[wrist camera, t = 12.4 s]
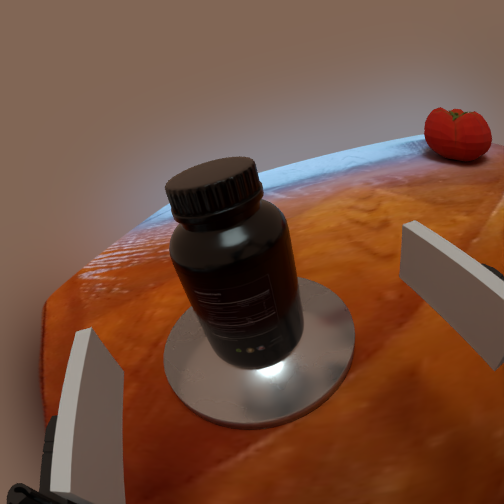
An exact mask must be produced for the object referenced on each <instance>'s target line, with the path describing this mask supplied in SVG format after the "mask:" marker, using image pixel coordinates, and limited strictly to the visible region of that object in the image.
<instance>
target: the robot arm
mask: <svg viewBox="0 0 504 504" xmlns="http://www.w3.org/2000/svg"><path fill="white" fill-rule="evenodd" d="M399 277H400V278H401V279H402V280H403V281H404V282H405V283H407V284H408V285H409V286H410V287H411V288H412V289H413V290H414V291H415V292H416V293H417V294H419V295H420V296H421V297H422V298H423V299H424V300H425V301H426V302H427V303H428V304H429V305H430V306H431V307H432V308H433V309H434V310H435V311H436V312H438V313H439V314H440V315H441V316H442V317H443V318H444V319H445V320H446V321H447V322H448V323H449V324H450V325H451V326H452V327H453V328H454V329H455V330H456V331H457V332H458V333H459V334H460V335H461V336H462V337H463V338H464V339H465V340H466V341H467V342H468V343H469V344H470V345H471V347H472V348H473V349H474V350H475V351H476V352H477V353H478V354H479V355H480V356H481V357H482V358H483V359H484V360H485V361H486V362H487V364H488V365H489V366H490V367H491V368H492V369H493V370H494V371H495V370H496V369H497V368H499V367H500V366H501V365H502V364H503V363H504V276H503V274H501V273H500V272H499V271H497V270H496V269H495V268H493V267H490V266H488V265H485V264H483V263H482V264H480V263H479V262H477V261H476V260H474V259H473V258H472V257H470V256H469V255H467V254H466V253H465V252H463V251H462V250H460V249H459V248H457V247H456V246H454V245H453V244H451V243H450V242H448V241H447V240H445V239H444V238H442V237H441V236H439V235H438V234H436V233H435V232H433V231H432V230H430V229H428V228H427V227H425V226H424V225H422V224H421V223H419V222H417V221H416V220H414V221H412V222H409V223H406V224H404V225H403V226H402V247H401V262H400V274H399ZM123 382H124V371H123V370H122V368H121V367H120V366H119V365H118V363H117V362H116V361H115V359H114V358H113V357H112V355H111V354H110V353H109V351H108V350H107V349H106V347H105V346H104V344H103V343H102V342H101V340H100V339H99V337H98V336H97V335H96V333H95V332H94V330H93V329H92V327H91V328H88V329H84V330H81V331H77V332H76V335H75V339H74V342H73V346H72V350H71V354H70V358H69V362H68V366H67V371H66V375H65V380H64V385H63V390H62V395H61V400H60V406H59V411H58V415H57V416H52V417H51V419H50V421H49V423H48V426H47V428H46V433H45V440H44V441H45V444H44V448H43V452H44V454H43V455H42V464H41V476H40V489H39V492H37V491H35V490H33V489H32V488H30V487H28V486H26V485H24V484H22V483H17V484H15V485H13V486H12V487H11V489H10V490H9V492H8V495H7V504H126V503H125V491H124V476H123V450H122V409H123Z"/></svg>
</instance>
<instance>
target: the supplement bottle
mask: <svg viewBox="0 0 504 504" xmlns="http://www.w3.org/2000/svg"><path fill="white" fill-rule="evenodd" d="M165 190H166V194H167V197H168V200H169V202H170V205H171V212H172V215H173V217H174V220H175V221H176V222H178V223H179V225H178V226H177V227H176V229H175V230H174V232H173V234H172V237H171V240H170V247H169V251H170V257H171V260H172V262H173V265H174V267H175V270H176V272H177V274H178V277H179V279H180V281H181V284H182V286H183V288H184V290H185V292H186V295H187V297H188V299H189V301H190V303H191V306H192V308H193V310H194V312H195V314H196V316H197V319H198V321H199V323H200V325H201V327H202V329H203V331H204V333H205V335H206V337H207V339H208V341H209V343H210V345H211V347H212V349H213V350H214V352H215V353H216V354H217V356H218V357H220V358H221V359H222V360H223V361H225V362H227V363H228V364H231V365H234V366H237V367H242V368H258V367H264V366H268V365H271V364H273V363H275V362H278V361H279V360H281V359H283V358H284V357H286V356H287V355H288V354H289V353H291V352H292V351H293V350H294V348H295V347H296V346H297V344H298V343H299V341H300V339H301V337H302V334H303V330H304V317H303V309H302V303H301V297H300V291H299V285H298V279H297V273H296V267H295V261H294V255H293V250H292V244H291V238H290V233H289V228H288V224H287V220H286V218H285V216H284V214H283V213H282V212H281V211H280V209H279V208H277V207H276V206H275V205H274V204H272V203H270V202H268V201H266V200H263V199H262V197H263V194H264V192H263V186H262V183H261V182H260V181H259V177H258V172H257V168H256V164H255V162H254V161H253V159H250V158H248V157H229V158H222V159H217V160H213V161H209V162H206V163H202V164H200V165H197V166H194V167H192V168H189V169H187V170H185V171H183V172H181V173H179V174H177V175H176V176H174V177H173V178H172V179H170V180H169V181H168V182H167V183H166V186H165Z"/></svg>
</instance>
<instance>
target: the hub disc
mask: <svg viewBox="0 0 504 504" xmlns="http://www.w3.org/2000/svg"><path fill="white" fill-rule="evenodd" d="M297 279H298V285H299V291H300V297H301V303H302V309H303V317H304V330H303V334H302V337H301V339H300V341H299V343H298V344H297V346H296V347H295V348H294V350H293V351H292V352H291V353H289V354H288V355H287V356H286V357H284V358H283V359H281V360H279V361H278V362H275V363H273V364H271V365H268V366H264V367H258V368H242V367H237V366H234V365H231V364H228V363H227V362H225V361H223V360H222V359H221V358H220V357H218V356H217V354H216V353H215V352H214V350H213V349H212V347H211V345H210V343H209V341H208V339H207V337H206V335H205V333H204V331H203V329H202V327H201V325H200V323H199V321H198V319H197V316H196V314H195V312H194V310H193V308H192V306H191V307H190V308H189V309H188V310H187V311H186V312H185V313H184V314H183V315H182V316H181V317H180V319H179V320H178V321H177V322H176V324H175V326H174V327H173V329H172V330H171V333H170V335H169V337H168V339H167V342H166V345H165V351H164V368H165V373H166V376H167V379H168V381H169V383H170V385H171V387H172V388H173V390H174V391H175V393H176V394H177V395H178V397H179V398H180V399H181V401H182V402H183V403H184V404H185V405H186V406H187V407H188V408H189V409H190V410H191V411H193V412H194V413H195V414H196V415H198V416H200V417H201V418H203V419H205V420H207V421H209V422H212V423H214V424H217V425H220V426H224V427H228V428H234V429H244V430H252V429H265V428H271V427H276V426H280V425H283V424H286V423H289V422H292V421H294V420H297V419H299V418H301V417H303V416H305V415H307V414H309V413H310V412H312V411H313V410H315V409H317V408H318V407H319V406H321V405H322V404H323V403H324V402H325V401H327V400H328V399H329V398H330V397H331V396H332V395H333V394H334V392H335V391H336V390H337V389H338V388H339V386H340V385H341V383H342V382H343V380H344V379H345V377H346V375H347V373H348V371H349V369H350V366H351V363H352V359H353V354H354V342H355V332H354V324H353V320H352V316H351V314H350V312H349V310H348V308H347V307H346V305H345V304H344V302H343V301H342V300H341V299H340V298H339V297H338V296H337V295H336V294H335V293H334V292H332V291H331V290H330V289H328V288H326V287H324V286H323V285H321V284H319V283H316V282H314V281H311V280H308V279H304V278H300V277H297Z"/></svg>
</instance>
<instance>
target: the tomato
mask: <svg viewBox="0 0 504 504" xmlns="http://www.w3.org/2000/svg"><path fill="white" fill-rule="evenodd" d="M465 113H466V114H465ZM424 129H425V132H424V135H425V140H426V142H427V144H428V145H429V147H430V148H431V149H432V150H433V151H435V152H436V153H438V154H440V155H441V156H443V157H445V158H448V159H456V160H460V161H466V162H467V161H472V160H475V159H477V158H478V157H479V156H480V155H483V154H485V153H486V152H487V151H488V150H489V148H490V146H491V142H492V136H491V131H490V128H489V126H488V124H487V122H486V121H485V120H484V118H483V117H482V116H481V115H480V114H478V113H476V112H475V111H474V112H471V113H470V112H469V113H468V112H463V111H462V110H461V109H453V110H451V111H449V112H448V111H446V110H445V109H443V108H441V107H440V108H437V109H434V110H433V111H432V112H431V113H430V114H429V116H428V117H427V120H426V122H425V128H424Z"/></svg>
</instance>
